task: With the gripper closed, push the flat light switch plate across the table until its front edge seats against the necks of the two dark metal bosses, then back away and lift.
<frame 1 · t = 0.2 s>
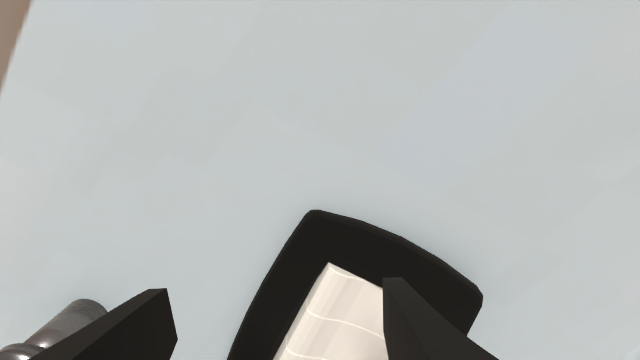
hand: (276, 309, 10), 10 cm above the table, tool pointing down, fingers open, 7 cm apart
metal bosses: (99, 357, 23), on the table
light switch: (335, 342, 23), on the table
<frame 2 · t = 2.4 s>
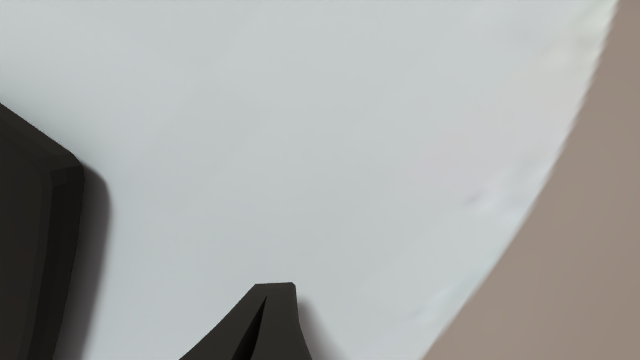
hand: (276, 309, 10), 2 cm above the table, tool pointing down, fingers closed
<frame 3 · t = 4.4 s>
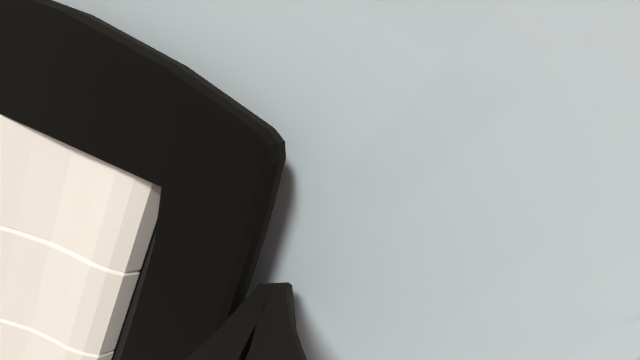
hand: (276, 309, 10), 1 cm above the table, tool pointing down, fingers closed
light switch: (51, 286, 12), on the table, touching gripper
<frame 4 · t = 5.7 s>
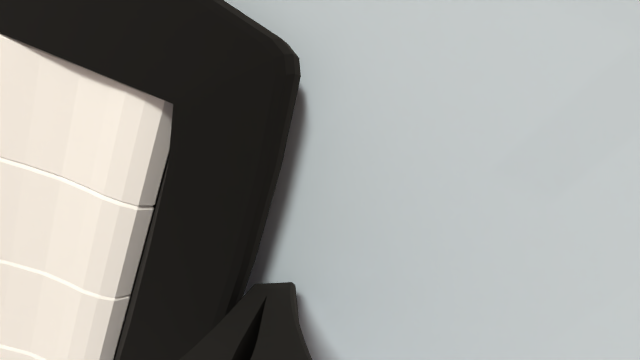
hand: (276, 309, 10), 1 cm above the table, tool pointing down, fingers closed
light switch: (63, 238, 12), on the table
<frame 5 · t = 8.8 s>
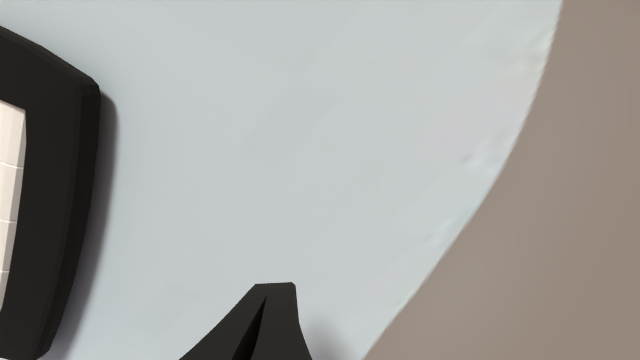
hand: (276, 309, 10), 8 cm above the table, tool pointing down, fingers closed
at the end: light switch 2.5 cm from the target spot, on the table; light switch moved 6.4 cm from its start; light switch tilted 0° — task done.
